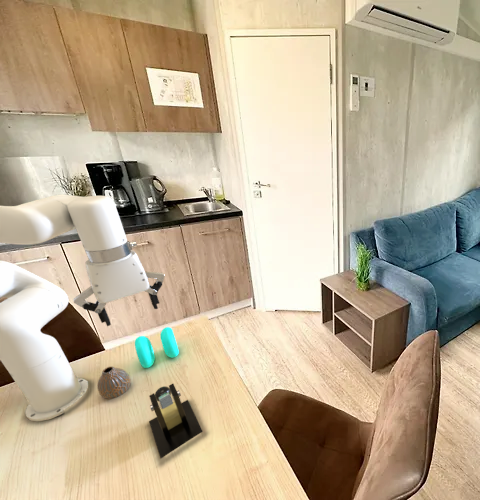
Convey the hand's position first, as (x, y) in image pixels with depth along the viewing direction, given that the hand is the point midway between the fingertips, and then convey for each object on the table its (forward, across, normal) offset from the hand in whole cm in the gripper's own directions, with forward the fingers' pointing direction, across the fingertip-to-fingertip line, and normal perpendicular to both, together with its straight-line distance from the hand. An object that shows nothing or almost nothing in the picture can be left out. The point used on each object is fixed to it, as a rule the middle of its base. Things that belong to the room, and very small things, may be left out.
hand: (132, 314), depth 70 cm
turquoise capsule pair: (+26, -3, -13) cm, 30 cm away
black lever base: (+26, 0, +16) cm, 31 cm away
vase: (+26, +9, -7) cm, 29 cm away
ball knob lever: (+20, 0, +13) cm, 24 cm away
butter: (+25, 0, +14) cm, 28 cm away
